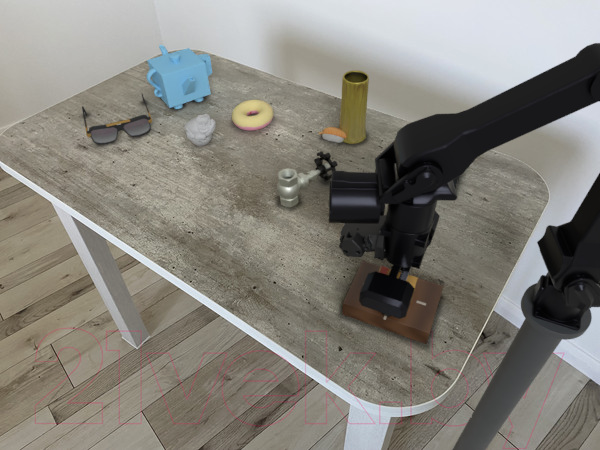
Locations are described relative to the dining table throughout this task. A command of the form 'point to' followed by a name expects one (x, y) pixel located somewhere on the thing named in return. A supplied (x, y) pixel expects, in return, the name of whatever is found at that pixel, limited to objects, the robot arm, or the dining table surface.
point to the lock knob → (410, 279)
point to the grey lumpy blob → (200, 129)
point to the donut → (252, 122)
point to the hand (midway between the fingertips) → (394, 291)
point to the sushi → (333, 134)
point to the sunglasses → (119, 128)
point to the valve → (302, 179)
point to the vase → (354, 106)
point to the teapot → (180, 76)
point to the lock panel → (409, 326)
